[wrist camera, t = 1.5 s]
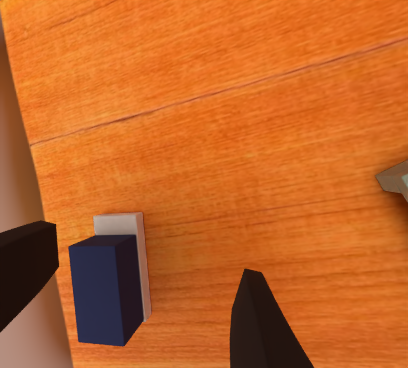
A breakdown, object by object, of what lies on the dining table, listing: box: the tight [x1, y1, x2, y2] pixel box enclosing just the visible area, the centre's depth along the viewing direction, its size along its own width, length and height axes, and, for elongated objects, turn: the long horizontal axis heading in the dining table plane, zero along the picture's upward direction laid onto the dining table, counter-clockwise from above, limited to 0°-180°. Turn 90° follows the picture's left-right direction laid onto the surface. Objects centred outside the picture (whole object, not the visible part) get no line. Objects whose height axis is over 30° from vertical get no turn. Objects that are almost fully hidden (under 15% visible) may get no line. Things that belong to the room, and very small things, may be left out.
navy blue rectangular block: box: [68, 212, 152, 346], centre depth 19 cm, size 9×4×4 cm, turn 5°
